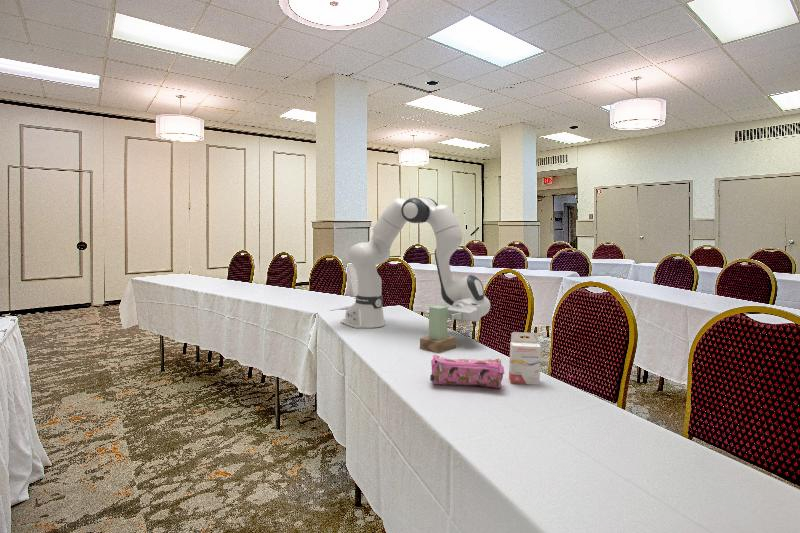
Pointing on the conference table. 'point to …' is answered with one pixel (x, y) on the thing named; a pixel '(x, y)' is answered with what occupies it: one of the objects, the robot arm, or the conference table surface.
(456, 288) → the robot arm
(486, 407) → the conference table surface
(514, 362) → the ink cartridge box
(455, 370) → the pencil case
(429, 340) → the walnut block
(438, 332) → the sage pillar block
